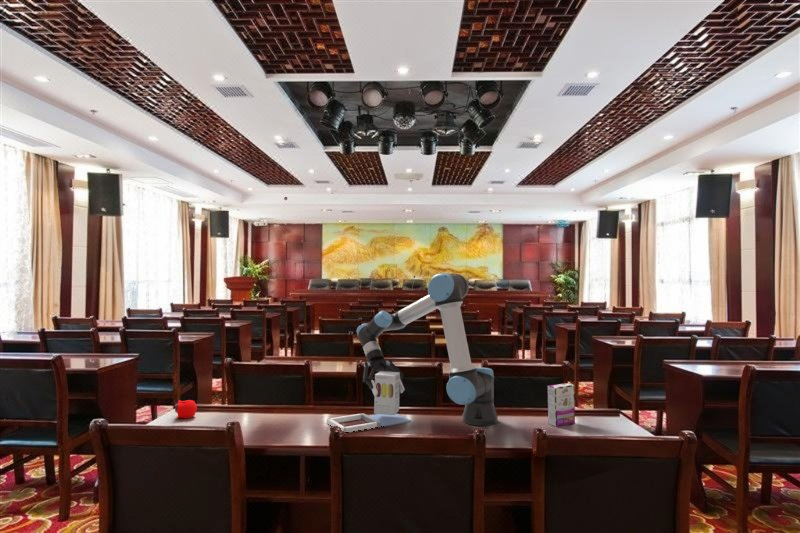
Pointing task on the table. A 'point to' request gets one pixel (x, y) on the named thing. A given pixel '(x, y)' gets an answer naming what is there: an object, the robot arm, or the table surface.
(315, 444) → the table surface
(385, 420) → the bay rack
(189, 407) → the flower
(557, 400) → the candy bar box
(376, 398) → the supplement box
